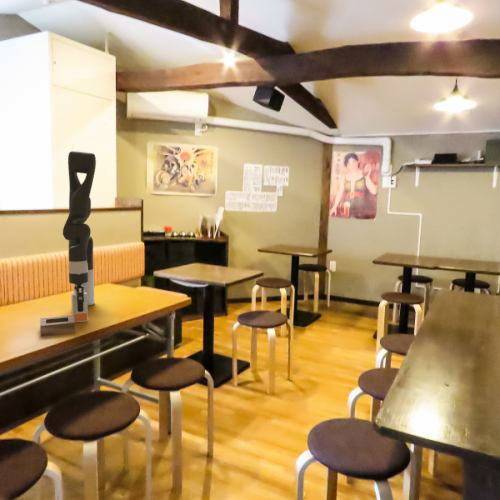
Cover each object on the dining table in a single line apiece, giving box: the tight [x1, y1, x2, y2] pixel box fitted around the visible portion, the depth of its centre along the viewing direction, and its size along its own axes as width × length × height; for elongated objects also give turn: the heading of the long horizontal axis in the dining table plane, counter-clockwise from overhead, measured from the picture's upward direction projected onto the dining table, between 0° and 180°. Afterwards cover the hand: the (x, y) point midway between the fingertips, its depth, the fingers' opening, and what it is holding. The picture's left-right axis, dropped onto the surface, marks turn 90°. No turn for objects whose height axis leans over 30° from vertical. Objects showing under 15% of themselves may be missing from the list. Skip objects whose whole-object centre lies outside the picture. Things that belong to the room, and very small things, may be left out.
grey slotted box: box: [39, 314, 76, 337], centre depth 171 cm, size 11×12×4 cm
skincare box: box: [70, 292, 89, 323], centre depth 184 cm, size 6×4×12 cm
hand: (79, 309), depth 184 cm, fingers open, 8 cm apart
